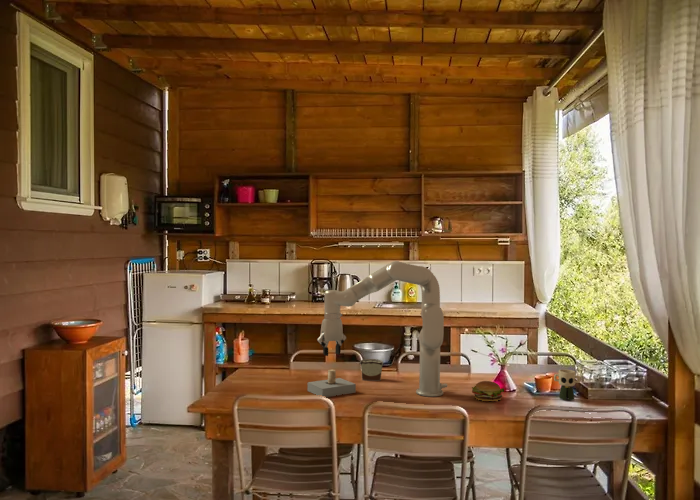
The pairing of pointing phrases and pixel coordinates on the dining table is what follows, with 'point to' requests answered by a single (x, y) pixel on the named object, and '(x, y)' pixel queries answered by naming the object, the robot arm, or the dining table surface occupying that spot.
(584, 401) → the dining table surface
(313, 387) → the socket board
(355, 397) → the dining table surface
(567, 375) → the character mug
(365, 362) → the food container
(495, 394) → the food
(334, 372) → the birch peg
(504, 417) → the dining table surface
